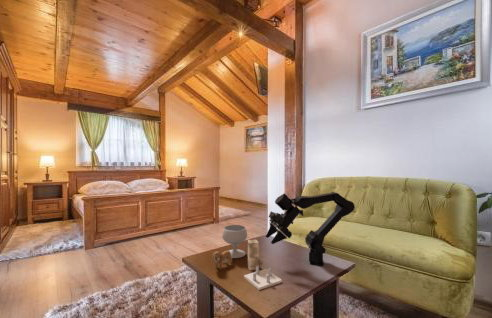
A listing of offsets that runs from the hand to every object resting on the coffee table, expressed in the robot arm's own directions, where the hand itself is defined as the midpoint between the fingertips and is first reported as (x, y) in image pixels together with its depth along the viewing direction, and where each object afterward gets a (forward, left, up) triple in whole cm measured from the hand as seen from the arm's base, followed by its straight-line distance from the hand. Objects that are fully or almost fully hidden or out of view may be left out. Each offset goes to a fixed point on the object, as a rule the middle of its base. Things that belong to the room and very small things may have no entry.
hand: (268, 240), depth 116 cm
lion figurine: (+22, +6, -13) cm, 27 cm away
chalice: (+21, -10, -13) cm, 27 cm away
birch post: (+7, +3, -13) cm, 15 cm away
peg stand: (0, +13, -13) cm, 19 cm away
